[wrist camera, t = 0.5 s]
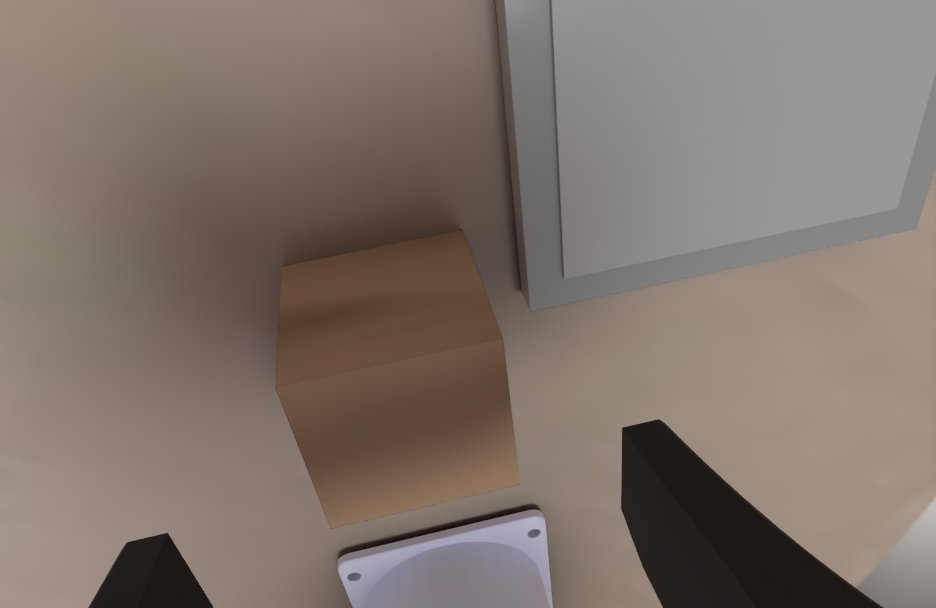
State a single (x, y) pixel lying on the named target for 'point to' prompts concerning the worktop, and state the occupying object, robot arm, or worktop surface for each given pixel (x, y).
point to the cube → (395, 378)
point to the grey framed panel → (709, 134)
